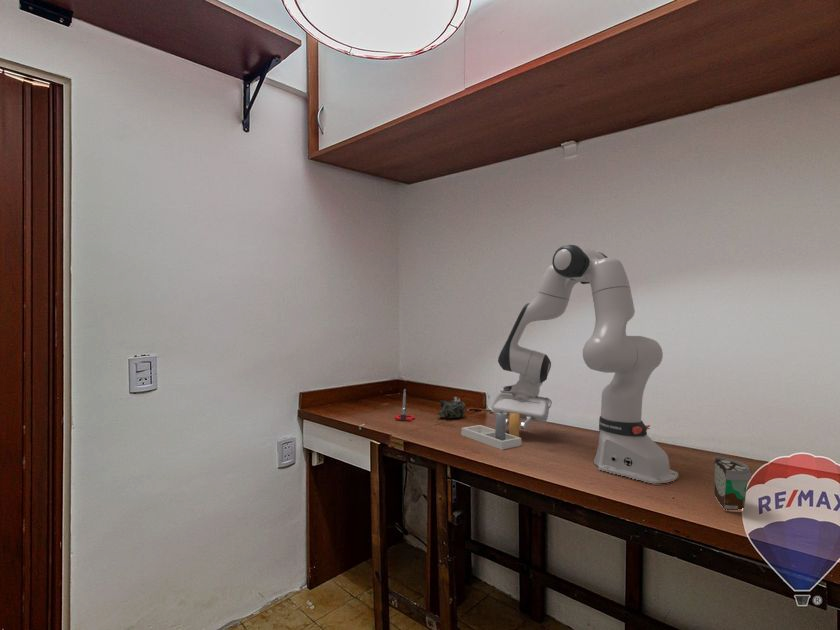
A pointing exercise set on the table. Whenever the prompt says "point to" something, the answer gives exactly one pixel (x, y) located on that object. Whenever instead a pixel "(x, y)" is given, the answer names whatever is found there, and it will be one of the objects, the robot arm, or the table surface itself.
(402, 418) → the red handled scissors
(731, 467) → the food container
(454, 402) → the mineral specimen
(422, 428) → the table surface
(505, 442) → the white divided tray
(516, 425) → the domed orange pawn
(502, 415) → the grey rounded peg
